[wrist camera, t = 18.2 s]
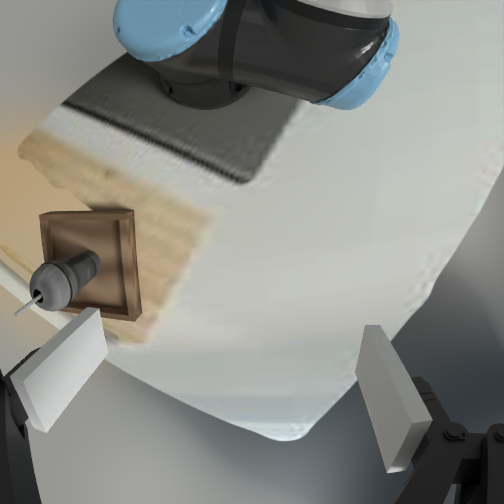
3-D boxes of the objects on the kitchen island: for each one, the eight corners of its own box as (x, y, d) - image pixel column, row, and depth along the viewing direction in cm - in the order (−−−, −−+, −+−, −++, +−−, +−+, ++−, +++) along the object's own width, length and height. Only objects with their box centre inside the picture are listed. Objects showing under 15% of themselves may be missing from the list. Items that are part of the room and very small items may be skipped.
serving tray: (50, 211, 50) (39, 214, 47) (134, 210, 49) (124, 213, 46) (62, 302, 55) (53, 309, 51) (142, 312, 54) (134, 321, 50)
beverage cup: (115, 263, 50) (45, 314, 31) (95, 290, 52) (28, 344, 33) (87, 233, 49) (8, 270, 30) (68, 261, 51) (-5, 305, 32)
